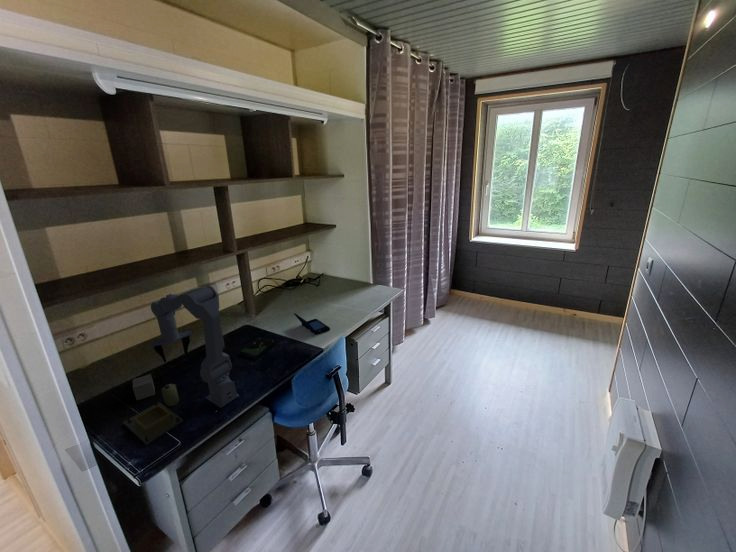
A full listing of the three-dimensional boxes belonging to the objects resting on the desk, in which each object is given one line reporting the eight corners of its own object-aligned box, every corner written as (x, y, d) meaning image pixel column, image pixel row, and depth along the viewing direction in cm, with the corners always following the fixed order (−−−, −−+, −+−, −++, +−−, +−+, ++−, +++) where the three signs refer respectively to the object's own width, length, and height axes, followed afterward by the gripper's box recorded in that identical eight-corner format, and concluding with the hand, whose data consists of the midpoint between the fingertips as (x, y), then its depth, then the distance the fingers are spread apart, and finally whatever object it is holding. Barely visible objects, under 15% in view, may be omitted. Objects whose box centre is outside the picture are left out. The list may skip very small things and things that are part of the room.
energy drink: (221, 344, 163) (217, 322, 159) (227, 347, 160) (223, 325, 156) (210, 348, 159) (206, 326, 155) (216, 352, 156) (212, 330, 152)
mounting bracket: (183, 421, 115) (181, 413, 114) (146, 445, 106) (143, 436, 105) (159, 403, 124) (157, 396, 123) (123, 424, 114) (121, 416, 113)
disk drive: (260, 340, 167) (239, 356, 154) (260, 335, 166) (238, 350, 153) (277, 344, 163) (257, 360, 150) (277, 339, 162) (256, 355, 149)
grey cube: (136, 400, 126) (132, 387, 124) (136, 392, 130) (132, 379, 128) (155, 394, 129) (151, 381, 127) (154, 386, 134) (150, 373, 131)
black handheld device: (331, 330, 175) (330, 315, 172) (309, 339, 167) (307, 322, 164) (316, 320, 187) (314, 305, 184) (294, 327, 179) (293, 312, 176)
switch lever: (181, 401, 125) (177, 385, 123) (169, 408, 122) (164, 392, 119) (175, 396, 128) (171, 380, 125) (162, 403, 124) (158, 387, 122)
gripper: (186, 318, 137) (192, 347, 142) (145, 330, 129) (153, 360, 133) (190, 324, 132) (196, 354, 137) (148, 337, 124) (156, 368, 128)
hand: (175, 357), depth 135 cm, fingers open, 7 cm apart
